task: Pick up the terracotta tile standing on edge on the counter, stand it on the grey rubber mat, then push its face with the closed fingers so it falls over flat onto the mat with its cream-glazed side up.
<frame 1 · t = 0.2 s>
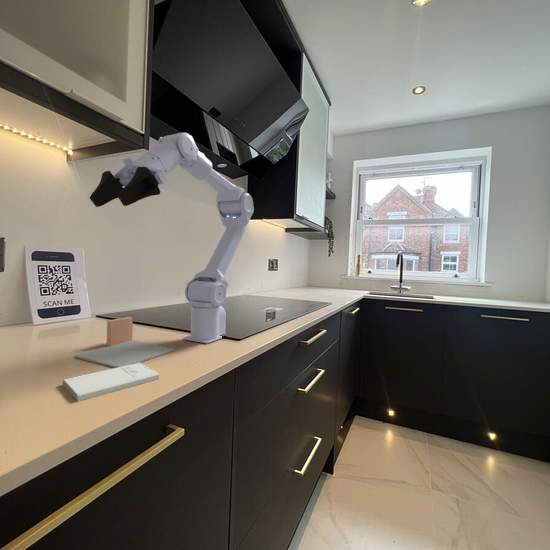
hand: (107, 201, 54), 31 cm above the countertop, tool tilted 45°, fingers open, 7 cm apart
tile: (119, 343, 74), on the countertop
mat: (127, 353, 65), on the countertop
external hard drive: (112, 386, 51), on the countertop
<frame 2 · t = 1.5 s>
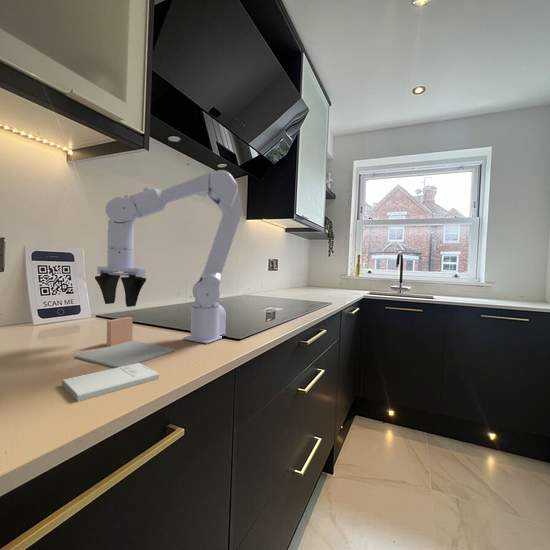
hand: (120, 304, 73), 9 cm above the countertop, tool pointing down, fingers open, 7 cm apart
nothing on the countertop moved.
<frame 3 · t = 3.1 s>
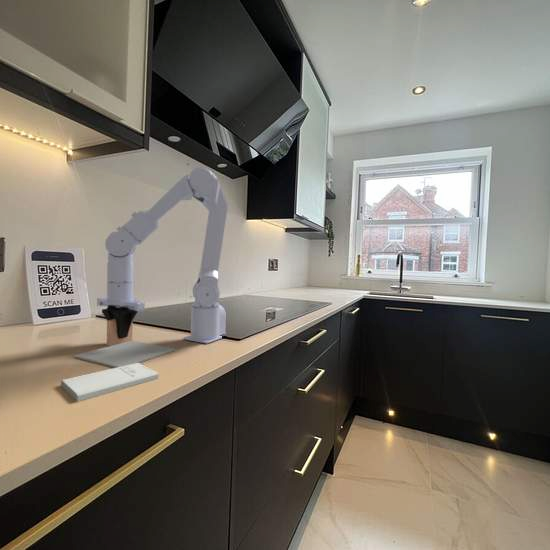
hand: (119, 337, 74), 1 cm above the countertop, tool pointing down, fingers closed on tile, 2 cm apart
tile: (119, 342, 74), on the countertop, touching gripper
everything else where it was.
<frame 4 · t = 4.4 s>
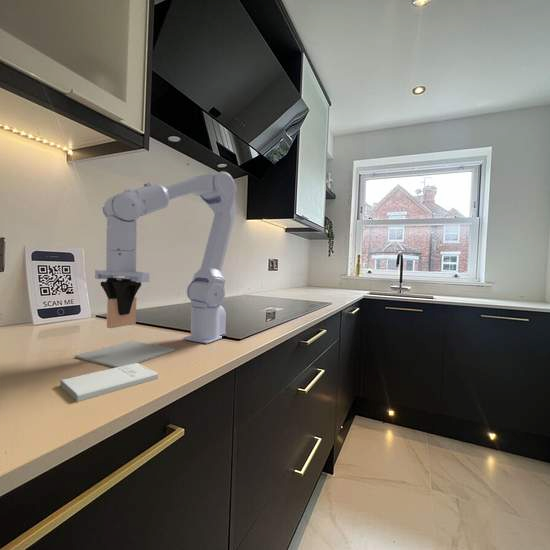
hand: (120, 313, 64), 9 cm above the countertop, tool pointing down, fingers closed on tile
tile: (121, 325, 65), point 6 cm above the countertop, touching gripper
everything else where it was.
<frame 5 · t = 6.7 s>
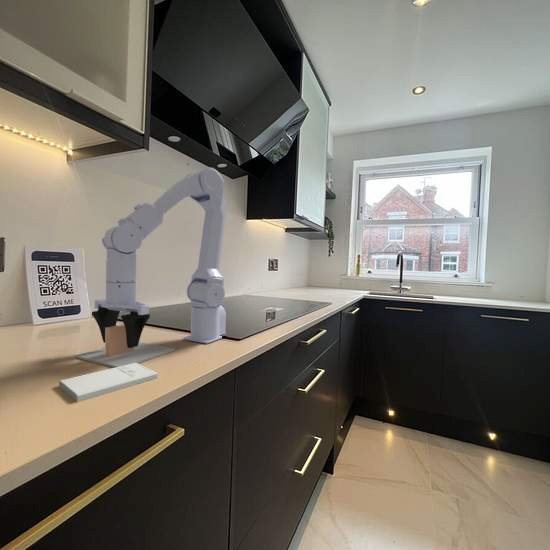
hand: (120, 344, 65), 2 cm above the countertop, tool pointing down, fingers open, 7 cm apart
tile: (120, 352, 65), resting on mat
everything else where it was.
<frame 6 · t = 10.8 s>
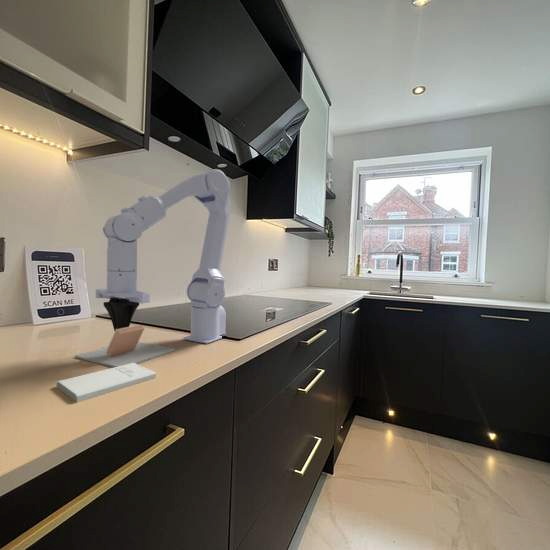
hand: (121, 333, 65), 5 cm above the countertop, tool pointing down, fingers closed
tile: (120, 350, 65), point 1 cm above the countertop, tilted 30°, touching mat
everything else where it was.
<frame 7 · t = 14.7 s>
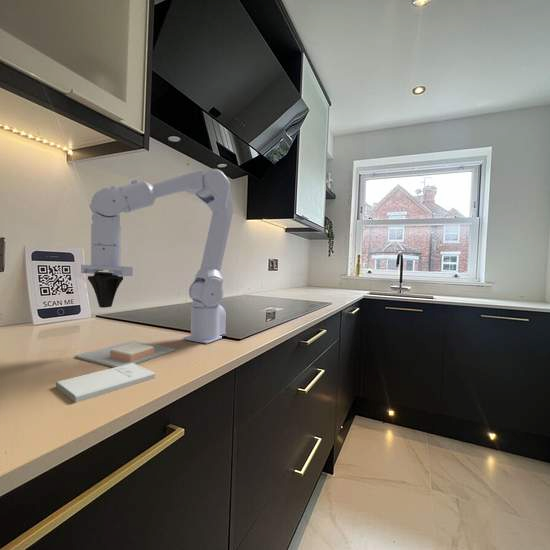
hand: (105, 307, 66), 10 cm above the countertop, tool pointing down, fingers closed
tile: (122, 349, 64), point 1 cm above the countertop, tilted 90°, touching mat
everything else where it was.
at the end: tile tilted 90°; tile inside the target area on the mat (1.1 cm from its centre), point 1.2 cm above the mat's base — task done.
